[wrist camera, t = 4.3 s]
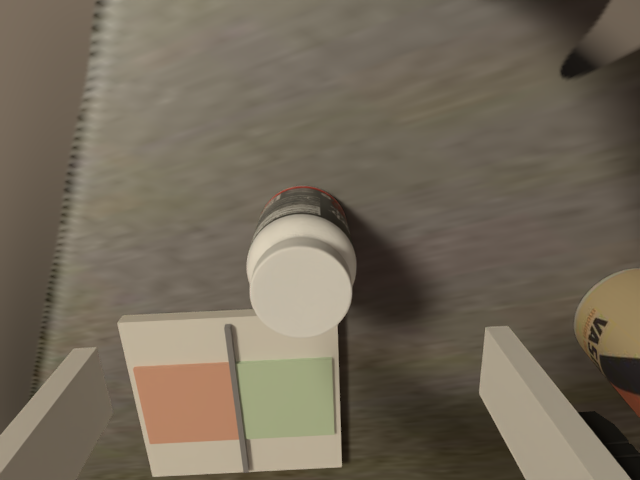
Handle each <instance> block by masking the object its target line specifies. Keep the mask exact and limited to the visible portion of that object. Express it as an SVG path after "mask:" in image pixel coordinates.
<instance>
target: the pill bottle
mask: <svg viewBox="0 0 640 480" xmlns="http://www.w3.org/2000/svg"><path fill="white" fill-rule="evenodd" d="M356 267H357V260H356V255H355V251H354V247H353V243H352V239H351V235H350V231H349V227H348V223H347V220H346V216H345V214H344V211H343V209H342V208H341V206H340V204H339V203H338V202H337V201H336V200H335V199H334V198H333V197H332V196H331V195H330V194H328V193H327V192H325V191H323V190H321V189H319V188H315V187H311V186H295V187H290V188H287V189H285V190H283V191H281V192H279V193H278V194H276V195H275V196H274V197H273V198H272V199H271V200H270V201H269V202H268V203H267V205H266V206H265V208H264V210H263V211H262V214H261V216H260V219H259V222H258V225H257V228H256V231H255V234H254V237H253V240H252V243H251V245H250V248H249V252H248V257H247V276H248V280H249V283H250V299H251V303H252V306H253V309H254V311H255V313H256V315H257V316H258V317H259V319H260V320H261V321H262V322H263V323H264V324H265V325H266V326H267V327H269V328H270V329H272V330H273V331H275V332H277V333H279V334H282V335H284V336H288V337H293V338H310V337H315V336H318V335H321V334H323V333H326V332H328V331H329V330H331V329H333V328H334V327H335V326H337V325H338V324H339V323H340V322H341V320H342V319H343V318H344V316H345V315H346V313H347V312H348V309H349V307H350V304H351V300H352V286H353V284H354V281H355V277H356Z"/></svg>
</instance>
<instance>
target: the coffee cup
mask: <svg viewBox="0 0 640 480" xmlns="http://www.w3.org/2000/svg"><path fill="white" fill-rule="evenodd" d="M574 331H575V336H576V338H577V341H578V343H579V344H580V346H581V347H582V349H583V350H584V351H585V352H586V354H587V355H588V356H589V358H590V359H591V360H592V361H593V363H594V364H595V365H596V366H597V367H598V369H599V370H600V371H601V372H602V373H603V375H604V376H605V377H606V378H607V379H608V381H609V382H610V383H611V384H612V385H613V387H614V388H615V389H616V390H617V391H618V393H619V394H620V395H621V396H622V397H623V399H624V400H625V401H626V402H627V403H628V405H629V406H630V407H631V408H632V409H633V411H634V412H635V413H636V414H637V415H638V416H639V418H640V268H631V269H626V270H622V271H619V272H616V273H614V274H612V275H609V276H608V277H606V278H604V279H602V280H601V281H600V282H598V283H597V284H596V285H594V286H593V287H592V288H591V289H590V290H589V291H588V292H587V294H586V295H585V296H584V297H583V299H582V300H581V302H580V304H579V306H578V308H577V310H576V313H575V318H574Z"/></svg>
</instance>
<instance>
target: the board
mask: <svg viewBox="0 0 640 480" xmlns="http://www.w3.org/2000/svg"><path fill="white" fill-rule="evenodd" d="M117 324H118V328H119V332H120V337H121V341H122V345H123V350H124V354H125V358H126V363H127V367H128V372H129V376H130V380H131V385H132V389H133V393H134V398H135V402H136V406H137V411H138V415H139V419H140V424H141V428H142V432H143V437H144V441H145V445H146V450H147V454H148V458H149V463H150V467H151V471H152V476H153V477H158V476H177V475H197V474H216V473H236V472H243V473H245V472H255V471H275V470H294V469H313V468H333V467H342V452H341V420H340V388H339V355H338V325H337V326H335V327H334V328H333V329H331V330H329V331H328V332H326V333H323V334H321V335H318V336H315V337H310V338H293V337H288V336H284V335H282V334H279V333H277V332H275V331H273V330H272V329H270V328H269V327H267V326H266V325H265V324H264V323H263V322H262V321H261V320H260V319H259V317H258V316H257V315H256V313H255V311H254V309H244V310H224V311H203V312H182V313H161V314H141V315H123V316H122V317H121V319H120V320H119V321H118V323H117Z"/></svg>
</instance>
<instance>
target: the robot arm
mask: <svg viewBox="0 0 640 480" xmlns="http://www.w3.org/2000/svg"><path fill="white" fill-rule="evenodd" d="M479 395H480V396H481V398H482V400H483V402H484V404H485V406H486V407H487V409H488V411H489V413H490V415H491V417H492V419H493V420H494V422H495V424H496V426H497V428H498V430H499V431H500V433H501V435H502V437H503V439H504V441H505V442H506V444H507V446H508V448H509V450H510V452H511V454H512V455H513V457H514V459H515V461H516V463H517V465H518V466H519V468H520V470H521V472H522V474H523V476H524V478H525V479H526V480H640V453H639V452H638V451H637V450H636V449H635V448H634V447H633V445H632V444H629V442H628V440H627V439H626V437H625V436H624V435H623V434H622V433H621V432H620V431H619V429H618V428H617V427H616V426H615V425H614V424H613V423H611V422H610V421H608V420H607V419H605V418H604V417H602V416H601V415H599V414H598V413H596V412H595V411H593V412H577V411H576V410H575V409H574V407H573V406H572V405H571V404H570V402H569V401H568V400H567V399H566V397H565V396H564V395H563V394H562V393H561V391H560V390H559V389H558V388H557V386H556V385H555V384H554V383H553V381H552V380H551V379H550V378H549V376H548V375H547V374H546V373H545V371H544V370H543V369H542V368H541V366H540V365H539V364H538V363H537V361H536V360H535V359H534V358H533V356H532V355H531V354H530V353H529V351H528V350H527V349H526V348H525V346H524V345H523V344H522V343H521V341H520V340H519V339H518V338H517V336H516V335H515V334H514V333H513V331H512V330H511V329H510V328H509V327H508V326H498V327H486V329H485V338H484V348H483V358H482V368H481V378H480V388H479ZM112 415H113V409H112V405H111V401H110V397H109V393H108V389H107V385H106V381H105V377H104V374H103V370H102V366H101V362H100V358H99V354H98V350H97V347H93V348H74V349H73V350H72V351H71V353H70V354H69V355H68V356H67V357H66V358H65V360H64V361H63V362H62V363H61V364H60V366H59V367H58V368H57V369H56V370H55V371H54V373H53V374H52V375H51V376H50V377H49V379H48V380H47V381H46V382H45V383H44V384H43V386H42V387H41V388H40V389H39V390H38V391H37V393H36V394H35V395H34V396H33V397H32V399H31V400H30V401H29V402H28V403H27V404H26V406H25V407H24V408H23V409H22V410H21V412H20V413H19V414H18V415H17V416H16V417H15V419H14V420H13V421H12V422H11V423H10V425H9V426H8V427H7V428H6V429H5V430H4V432H3V433H2V434H1V435H0V480H76V478H77V477H78V475H79V473H80V471H81V469H82V468H83V466H84V464H85V462H86V461H87V459H88V457H89V455H90V454H91V452H92V450H93V448H94V447H95V445H96V443H97V441H98V440H99V438H100V436H101V434H102V433H103V431H104V429H105V427H106V426H107V424H108V422H109V420H110V418H111V417H112Z"/></svg>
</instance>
